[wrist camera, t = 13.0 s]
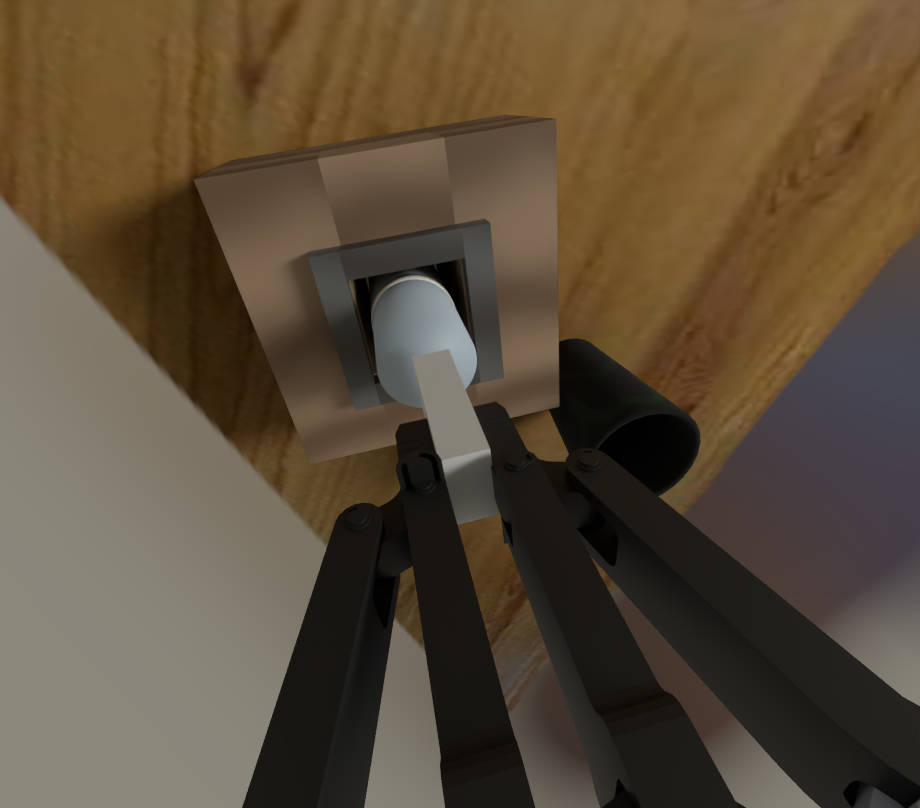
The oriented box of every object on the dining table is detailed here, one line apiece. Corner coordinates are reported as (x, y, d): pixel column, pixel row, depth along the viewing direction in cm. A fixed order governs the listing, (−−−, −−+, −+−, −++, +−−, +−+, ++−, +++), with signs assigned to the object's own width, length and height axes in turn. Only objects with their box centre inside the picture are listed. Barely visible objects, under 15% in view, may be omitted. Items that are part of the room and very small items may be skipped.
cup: (530, 419, 41) (587, 521, 31) (515, 343, 36) (577, 433, 26) (613, 393, 41) (698, 486, 31) (609, 314, 36) (706, 392, 27)
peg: (360, 250, 29) (364, 328, 19) (431, 238, 29) (472, 307, 19) (375, 317, 31) (387, 417, 21) (441, 305, 32) (482, 398, 22)
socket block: (231, 160, 26) (186, 183, 19) (505, 114, 28) (564, 119, 20) (317, 396, 35) (309, 474, 28) (521, 352, 37) (565, 415, 29)
